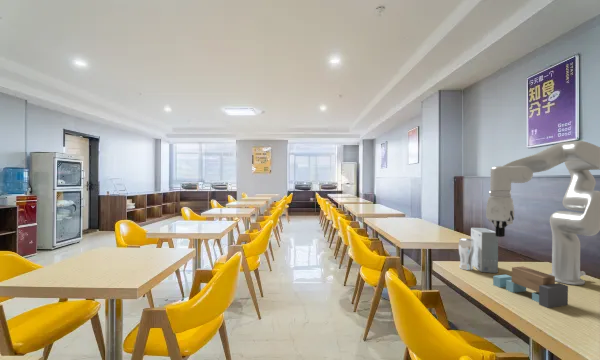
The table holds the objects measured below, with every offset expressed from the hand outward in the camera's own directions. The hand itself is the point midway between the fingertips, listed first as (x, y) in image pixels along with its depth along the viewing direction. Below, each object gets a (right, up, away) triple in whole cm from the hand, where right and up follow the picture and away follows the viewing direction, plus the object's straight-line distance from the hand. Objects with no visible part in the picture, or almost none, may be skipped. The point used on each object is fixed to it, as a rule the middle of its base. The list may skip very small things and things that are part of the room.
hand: (500, 236), depth 129 cm
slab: (+4, -17, -13) cm, 22 cm away
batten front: (+2, -21, -7) cm, 22 cm away
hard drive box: (+7, -21, +23) cm, 32 cm away
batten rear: (0, -21, -1) cm, 21 cm away
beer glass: (-2, -21, +22) cm, 31 cm away
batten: (+5, -20, -15) cm, 26 cm away
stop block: (+6, -21, -21) cm, 30 cm away
